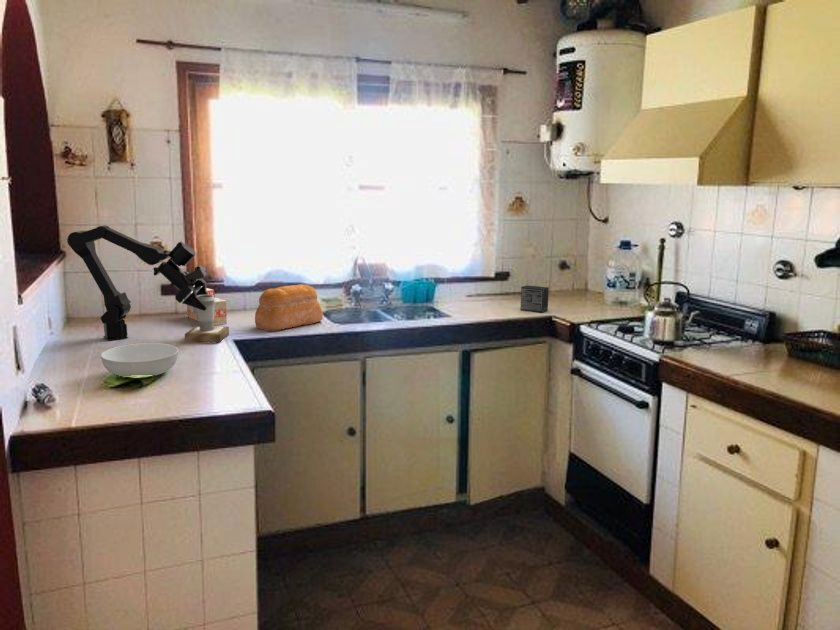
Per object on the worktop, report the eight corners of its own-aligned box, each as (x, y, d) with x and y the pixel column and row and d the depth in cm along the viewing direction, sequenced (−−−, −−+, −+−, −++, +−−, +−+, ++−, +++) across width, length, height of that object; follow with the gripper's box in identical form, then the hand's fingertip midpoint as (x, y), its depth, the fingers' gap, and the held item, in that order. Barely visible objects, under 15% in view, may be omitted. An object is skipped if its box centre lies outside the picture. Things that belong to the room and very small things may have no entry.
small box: (548, 310, 302) (549, 286, 300) (542, 313, 297) (543, 288, 295) (525, 308, 308) (526, 284, 306) (519, 310, 302) (520, 286, 300)
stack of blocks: (227, 324, 270) (226, 292, 267) (212, 326, 265) (210, 294, 263) (201, 315, 285) (200, 285, 282) (187, 317, 281) (185, 287, 278)
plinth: (185, 342, 239) (184, 333, 239) (195, 334, 251) (195, 325, 251) (220, 342, 240) (219, 333, 239) (229, 334, 251) (228, 326, 251)
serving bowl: (97, 387, 189) (95, 363, 188) (107, 367, 209) (106, 344, 208) (178, 382, 195) (176, 358, 194) (181, 362, 215) (179, 341, 213)
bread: (326, 322, 275) (326, 284, 272) (273, 333, 255) (271, 292, 252) (304, 317, 283) (303, 280, 280) (250, 327, 264) (249, 288, 261)
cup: (192, 329, 245) (190, 295, 242) (209, 326, 250) (207, 293, 247) (203, 332, 240) (202, 298, 238) (220, 329, 245) (219, 296, 243)
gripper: (182, 262, 231) (218, 295, 233) (199, 256, 249) (231, 286, 251) (160, 286, 232) (195, 318, 234) (178, 277, 250) (210, 308, 253)
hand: (209, 307), depth 243 cm, fingers open, 9 cm apart
